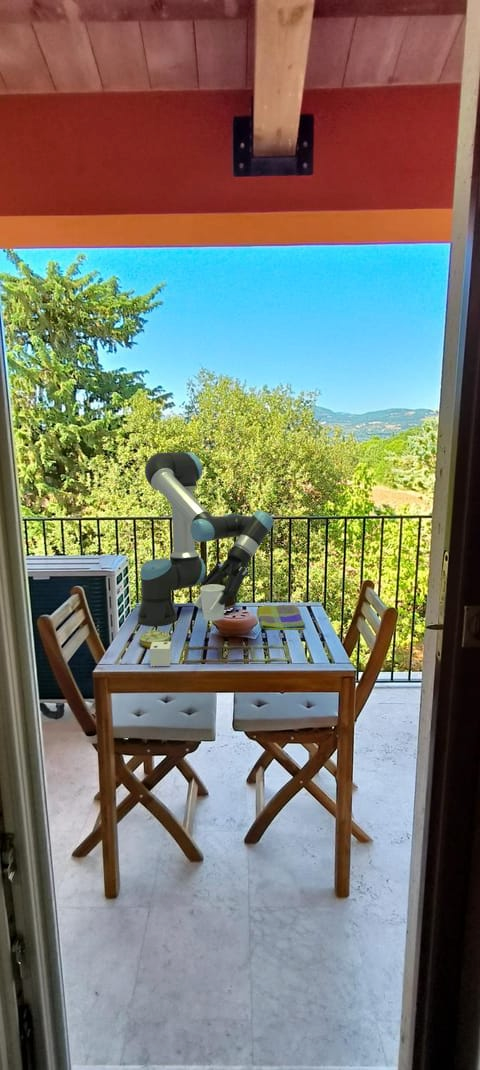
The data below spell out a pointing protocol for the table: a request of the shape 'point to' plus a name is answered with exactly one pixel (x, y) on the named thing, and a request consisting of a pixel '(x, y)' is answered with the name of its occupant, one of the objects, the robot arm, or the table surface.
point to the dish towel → (280, 617)
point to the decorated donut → (153, 637)
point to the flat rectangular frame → (236, 659)
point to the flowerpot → (231, 599)
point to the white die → (160, 654)
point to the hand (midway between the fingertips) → (204, 608)
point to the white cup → (211, 601)
